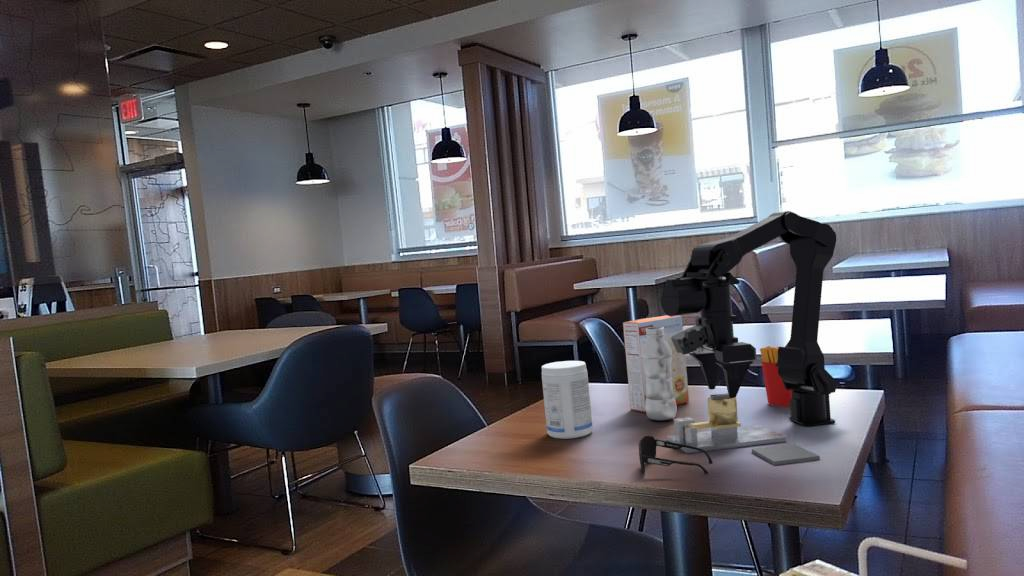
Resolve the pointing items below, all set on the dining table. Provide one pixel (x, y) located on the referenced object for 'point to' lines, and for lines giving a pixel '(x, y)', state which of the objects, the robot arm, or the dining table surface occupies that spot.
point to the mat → (785, 454)
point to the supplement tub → (566, 399)
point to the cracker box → (635, 368)
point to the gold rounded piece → (720, 413)
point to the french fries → (774, 379)
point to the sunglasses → (649, 453)
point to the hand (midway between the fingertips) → (721, 393)
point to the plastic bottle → (658, 376)
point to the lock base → (733, 443)
